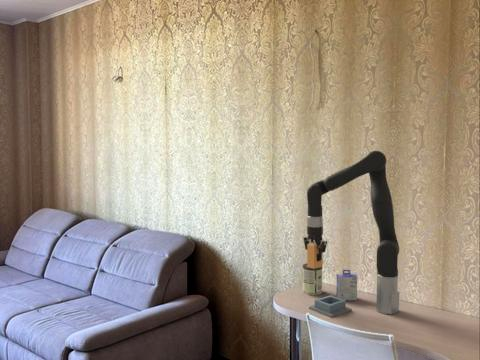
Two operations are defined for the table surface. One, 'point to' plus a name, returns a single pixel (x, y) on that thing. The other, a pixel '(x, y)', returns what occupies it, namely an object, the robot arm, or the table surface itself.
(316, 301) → the holder
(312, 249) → the connector plug
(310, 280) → the coffee can
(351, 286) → the ink cartridge box
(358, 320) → the table surface
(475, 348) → the table surface
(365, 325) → the table surface
